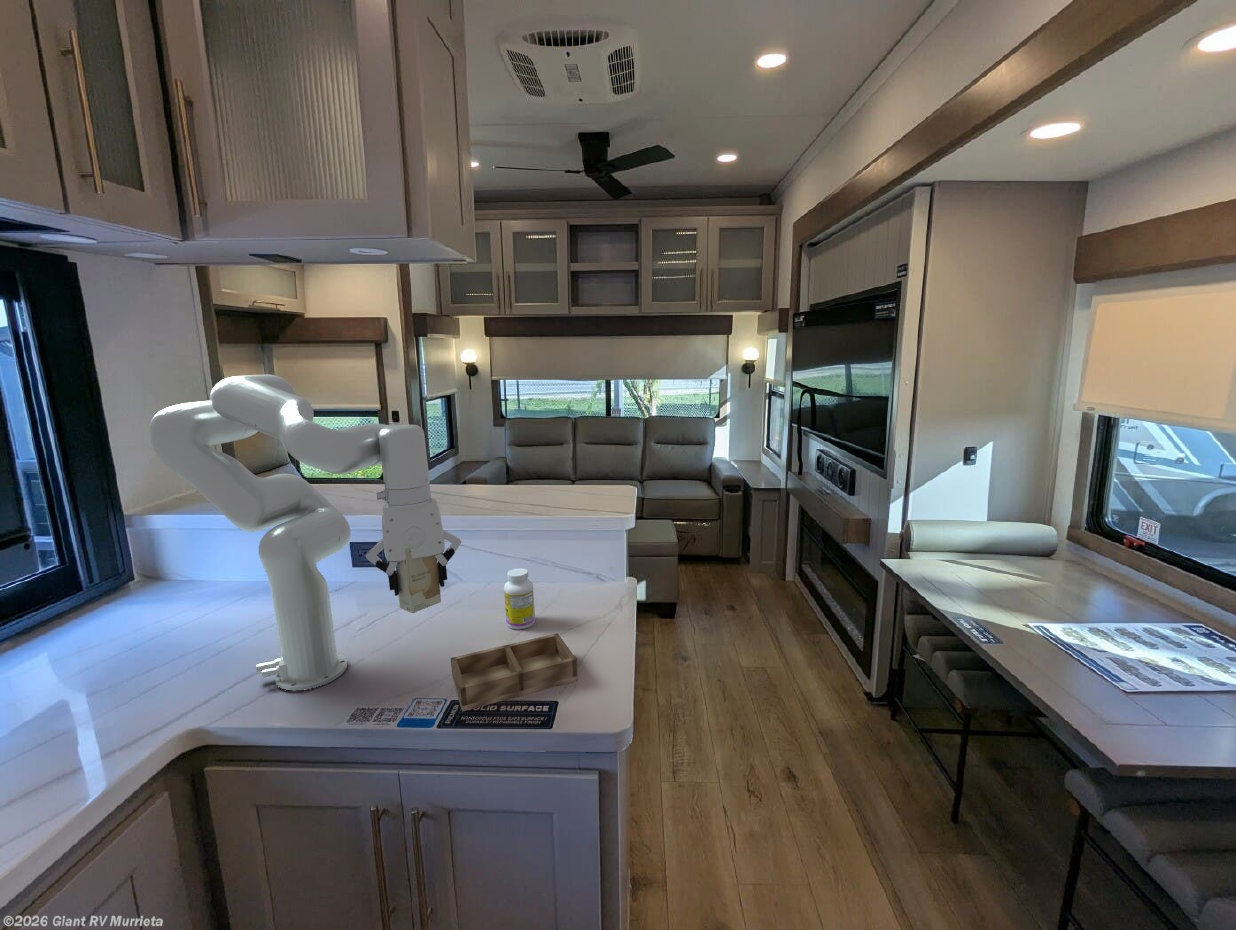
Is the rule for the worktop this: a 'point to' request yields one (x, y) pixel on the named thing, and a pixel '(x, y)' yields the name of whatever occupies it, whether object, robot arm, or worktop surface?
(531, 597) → the supplement bottle
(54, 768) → the worktop surface
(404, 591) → the skincare box
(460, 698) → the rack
